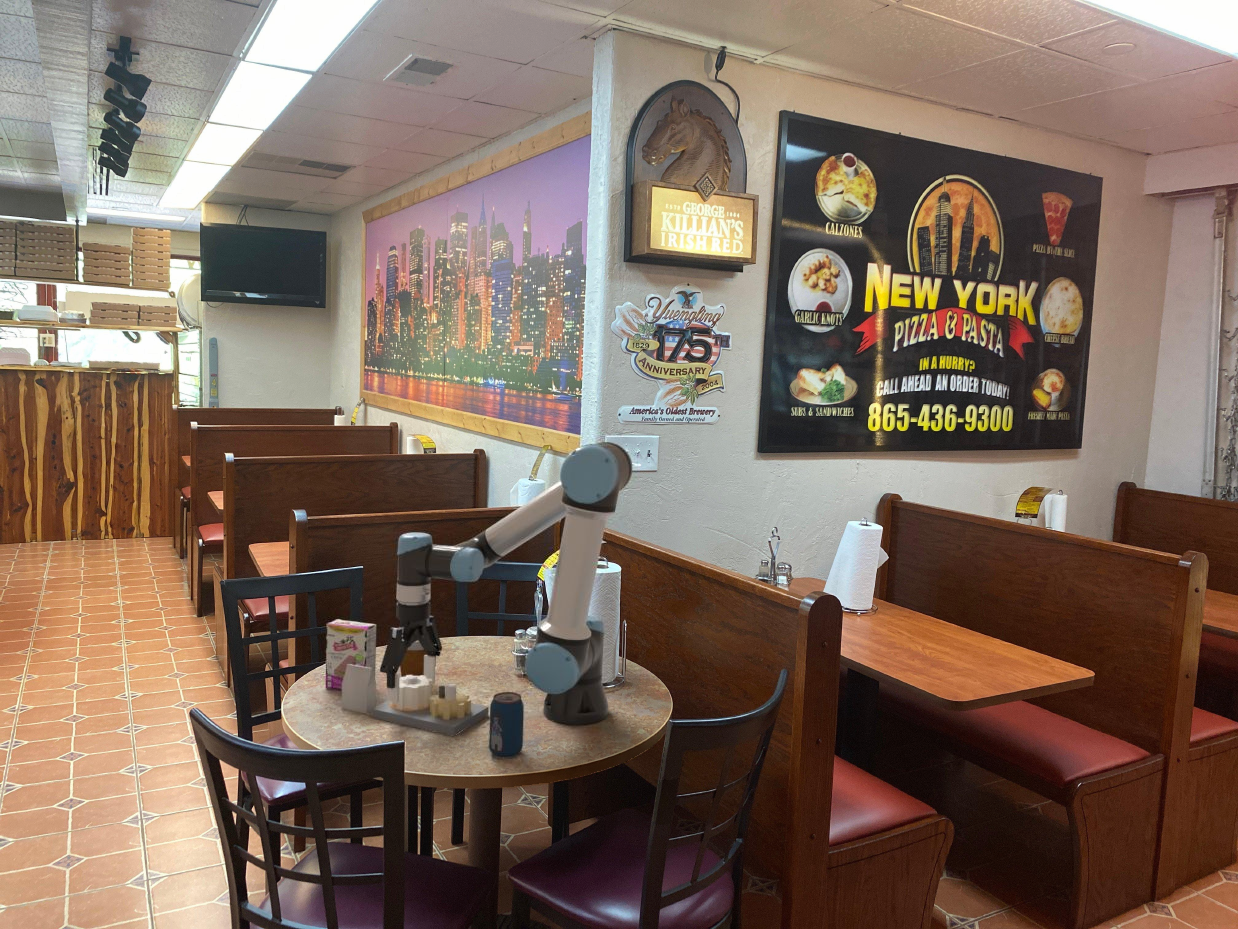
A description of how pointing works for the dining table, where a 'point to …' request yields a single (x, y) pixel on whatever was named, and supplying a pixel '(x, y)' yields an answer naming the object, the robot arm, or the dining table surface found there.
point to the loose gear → (414, 693)
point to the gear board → (435, 711)
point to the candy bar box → (348, 649)
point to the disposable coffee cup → (413, 660)
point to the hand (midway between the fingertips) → (411, 692)
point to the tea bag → (358, 689)
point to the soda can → (506, 725)
